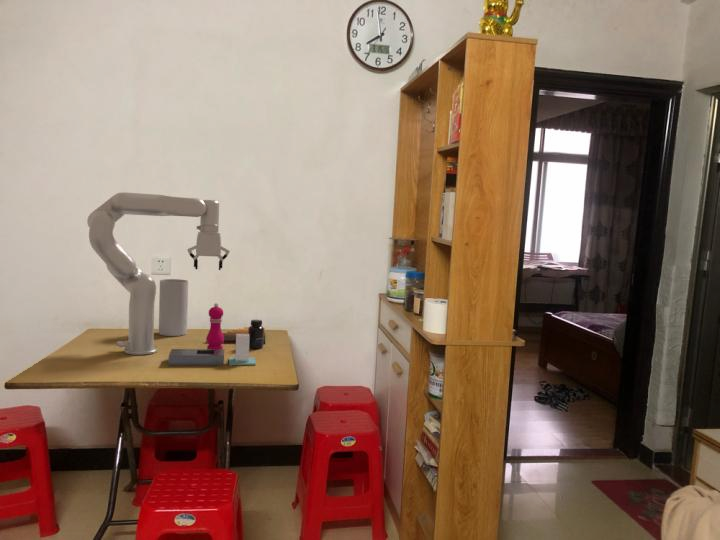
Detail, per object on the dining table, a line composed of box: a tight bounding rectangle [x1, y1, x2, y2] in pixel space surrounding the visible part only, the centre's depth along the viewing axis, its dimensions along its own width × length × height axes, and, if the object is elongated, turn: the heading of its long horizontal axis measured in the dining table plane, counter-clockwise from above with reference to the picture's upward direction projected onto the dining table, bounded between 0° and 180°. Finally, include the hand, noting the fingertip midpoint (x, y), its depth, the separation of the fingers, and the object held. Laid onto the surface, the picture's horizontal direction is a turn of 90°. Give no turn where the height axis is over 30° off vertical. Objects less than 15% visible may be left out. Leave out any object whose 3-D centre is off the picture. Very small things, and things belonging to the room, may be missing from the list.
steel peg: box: [234, 334, 250, 362], centre depth 226 cm, size 5×5×10 cm
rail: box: [168, 348, 225, 367], centre depth 223 cm, size 20×10×4 cm, turn 102°
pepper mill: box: [206, 303, 224, 349], centre depth 243 cm, size 7×7×20 cm
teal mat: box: [228, 356, 257, 367], centre depth 227 cm, size 10×10×1 cm
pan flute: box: [222, 326, 266, 345], centre depth 270 cm, size 25×3×25 cm
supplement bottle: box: [248, 319, 265, 350], centre depth 252 cm, size 7×7×12 cm
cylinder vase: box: [158, 278, 189, 337], centre depth 269 cm, size 12×12×25 cm
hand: (208, 269), depth 247 cm, fingers open, 9 cm apart
